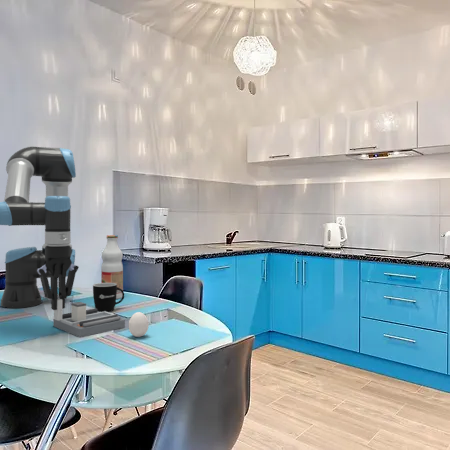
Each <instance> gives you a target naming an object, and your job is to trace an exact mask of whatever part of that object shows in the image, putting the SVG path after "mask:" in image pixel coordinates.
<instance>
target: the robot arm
mask: <svg viewBox="0 0 450 450" xmlns="http://www.w3.org/2000/svg"><path fill="white" fill-rule="evenodd" d="M5 170H6V173H7V178H6V179H7V181H6V187H5V192H4V200H3V201H0V226H9V227H10V226H44V244H43V245H41V246H42V248H41V249H40V250H38V247H36V246H29V247H21V248H15V249H11V250H8V251H7V252H6V253H5V259H4V261H5V262H4V264H5V285H4V286H5V288H4V291H3V293H2V296H1V298H0V306H1V307H2V306H3V307H2V308H5V307H7V309H19V308H20V309H21V308H28V307H29V308H30V307H34V306H39V305H40V304H42V295H41V293H40V290H39V287H38V284H37V283H38V281H37V279H40V283H41V286H42V290H43V295H44V298H46V299H50V302H51V304H50V306H51V307H50V308H51V310H53V319H55V320H57V321H59V320H62V314H63V310H64V309H65V308H66V300H67V298H68V297H70V296H71V295H72V291H73V288H74V287H73V286H74V283H75V277H76V273H77V271H79V265H76V264H75V261H76V259H75V258H76V249H74V248H73V245H72V244H71V241H72V240H71V239H72V238H71V233H72V232H71V209H72V208H71V207H72V205H71V199H70V196H69V185H71V184H72V182H73V179H74V178H76V177H77V174H76V165H75V159H74V153H73V151H72V150H71V149H69V148H63V147H46V146H45V147H44V146H27V147H24V148H22V149H19V150H18V151H16V152H14V153H13V154H12V155H11V156H10V157H9V159H8V160H7V162H6V167H5ZM32 177H41V182H42V183H43V184H44V185H45V198H44V202H31V201H30V194H31V193H30V192H31V190H30V189H31V178H32ZM49 278H50V283H49Z"/></svg>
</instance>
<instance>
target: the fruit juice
mask: <svg viewBox="0 0 450 450" xmlns="http://www.w3.org/2000/svg"><path fill="white" fill-rule="evenodd" d="M118 238H119V236H118V235H117V234H116V235H115V234H111V235H108V234H107V235H106V246H105V248H104V249H103V250H102V252H101V260H102V263H101V268H100V270H101V271H100V273H101V275H100V276H101V280H100V283H116V284H117V287H118V288H120V289H122V290H123V291H124V265H123V261H122V260H123V257H124V256H123V251H122V249H120V247H119V244H118V240H119V239H118ZM118 299H122V292H121V291H120V290H117V294H116V300H118Z"/></svg>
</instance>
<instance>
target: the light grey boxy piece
mask: <svg viewBox="0 0 450 450" xmlns="http://www.w3.org/2000/svg"><path fill="white" fill-rule="evenodd" d="M86 310H87V303H84V302H82V301H76V302H71V313H72V321H75V322H77V321H82V320H86Z"/></svg>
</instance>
